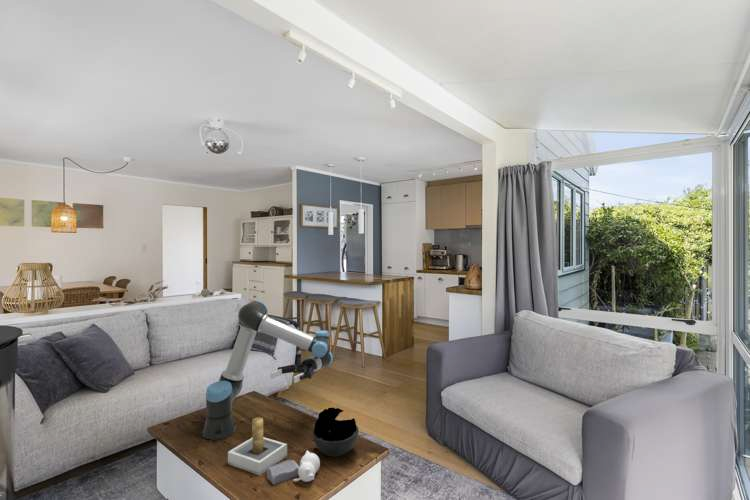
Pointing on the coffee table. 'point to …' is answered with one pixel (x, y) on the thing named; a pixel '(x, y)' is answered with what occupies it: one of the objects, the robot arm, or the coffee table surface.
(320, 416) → the coal bowl
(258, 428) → the peg
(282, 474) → the stone block
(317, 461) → the cat figurine
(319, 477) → the coffee table surface
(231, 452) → the hole box
